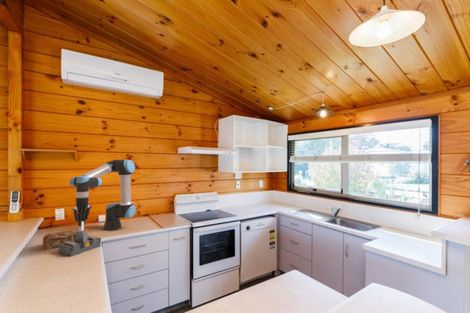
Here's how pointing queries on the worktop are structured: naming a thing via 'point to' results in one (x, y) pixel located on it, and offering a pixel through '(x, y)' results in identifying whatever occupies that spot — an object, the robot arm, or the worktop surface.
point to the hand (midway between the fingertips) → (81, 230)
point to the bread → (57, 239)
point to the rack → (79, 246)
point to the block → (81, 236)
